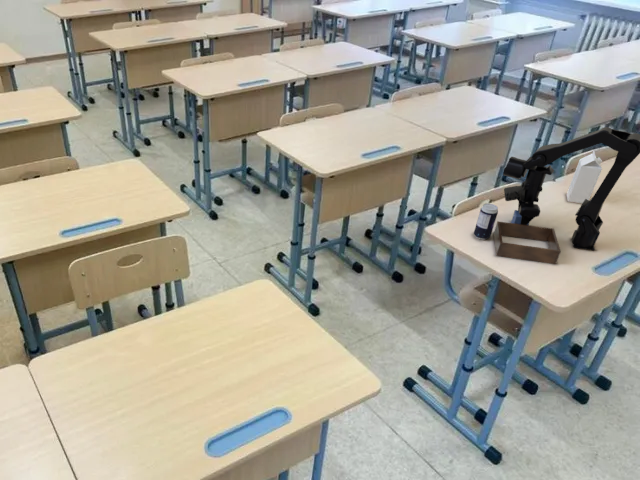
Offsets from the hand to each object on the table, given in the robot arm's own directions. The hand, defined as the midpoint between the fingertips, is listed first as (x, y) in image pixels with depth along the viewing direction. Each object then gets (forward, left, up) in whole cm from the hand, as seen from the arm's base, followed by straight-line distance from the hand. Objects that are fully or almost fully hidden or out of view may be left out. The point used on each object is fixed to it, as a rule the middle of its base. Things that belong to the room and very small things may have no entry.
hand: (520, 221), depth 203 cm
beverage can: (+14, +12, -2) cm, 18 cm away
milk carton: (-24, -29, -2) cm, 38 cm away
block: (0, 0, -2) cm, 2 cm away
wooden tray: (0, +16, -2) cm, 16 cm away
